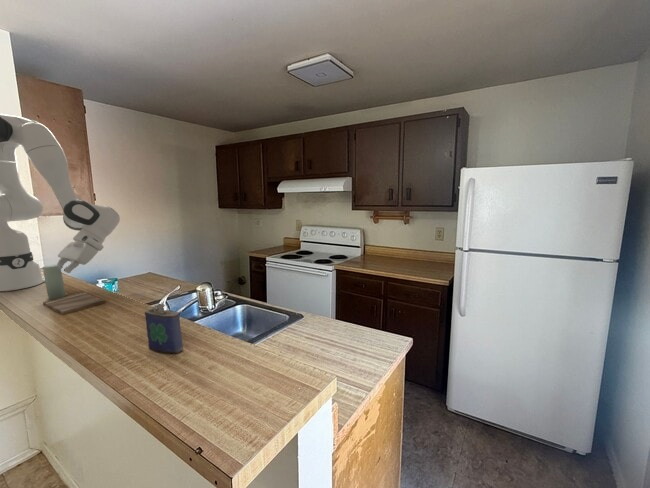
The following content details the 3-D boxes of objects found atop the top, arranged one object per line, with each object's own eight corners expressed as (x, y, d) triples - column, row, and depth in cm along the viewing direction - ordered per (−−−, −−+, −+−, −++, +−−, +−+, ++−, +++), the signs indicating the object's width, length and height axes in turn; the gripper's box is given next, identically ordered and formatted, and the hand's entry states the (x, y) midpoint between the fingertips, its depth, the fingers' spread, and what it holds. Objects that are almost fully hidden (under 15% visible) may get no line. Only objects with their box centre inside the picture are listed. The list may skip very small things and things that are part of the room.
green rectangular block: (46, 297, 117) (40, 267, 115) (62, 293, 121) (57, 264, 119) (51, 299, 114) (45, 268, 112) (68, 295, 118) (62, 265, 116)
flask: (186, 349, 74) (180, 304, 72) (175, 356, 71) (169, 309, 69) (155, 343, 78) (149, 300, 76) (144, 350, 75) (137, 304, 73)
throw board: (43, 305, 109) (42, 301, 109) (83, 294, 119) (83, 292, 119) (62, 314, 99) (62, 311, 99) (104, 302, 109) (104, 299, 109)
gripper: (69, 235, 128) (43, 263, 121) (90, 238, 117) (63, 269, 110) (83, 244, 132) (59, 271, 126) (105, 247, 121) (80, 278, 115)
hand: (61, 270), depth 118 cm, fingers open, 8 cm apart
